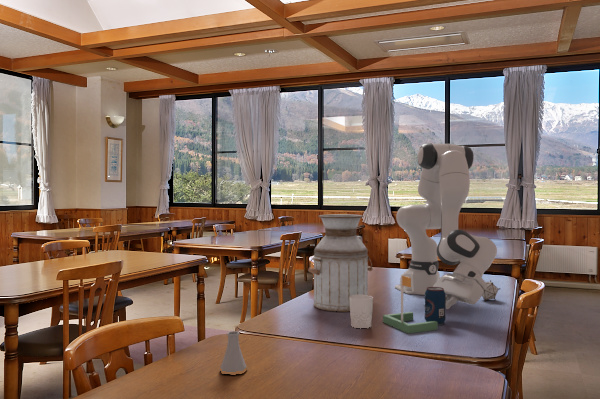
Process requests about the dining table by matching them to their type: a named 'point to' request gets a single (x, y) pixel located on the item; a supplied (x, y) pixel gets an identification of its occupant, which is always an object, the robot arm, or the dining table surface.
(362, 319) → the white cup
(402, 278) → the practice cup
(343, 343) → the dining table surface
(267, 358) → the dining table surface
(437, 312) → the soda can
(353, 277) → the milk can
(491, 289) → the game die
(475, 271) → the robot arm
